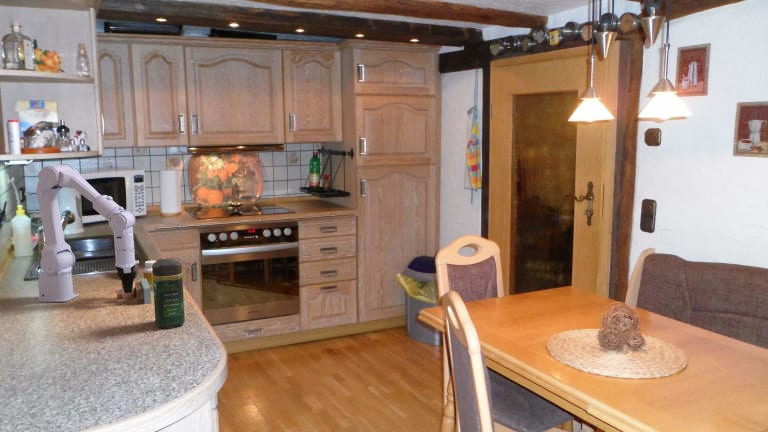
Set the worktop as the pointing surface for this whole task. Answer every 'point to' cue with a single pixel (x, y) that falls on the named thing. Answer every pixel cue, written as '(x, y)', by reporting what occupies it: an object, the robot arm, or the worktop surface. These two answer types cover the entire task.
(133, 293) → the pink egg shape
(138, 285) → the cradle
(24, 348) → the worktop surface
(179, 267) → the coffee jar
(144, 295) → the backstop board
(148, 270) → the supplement bottle
